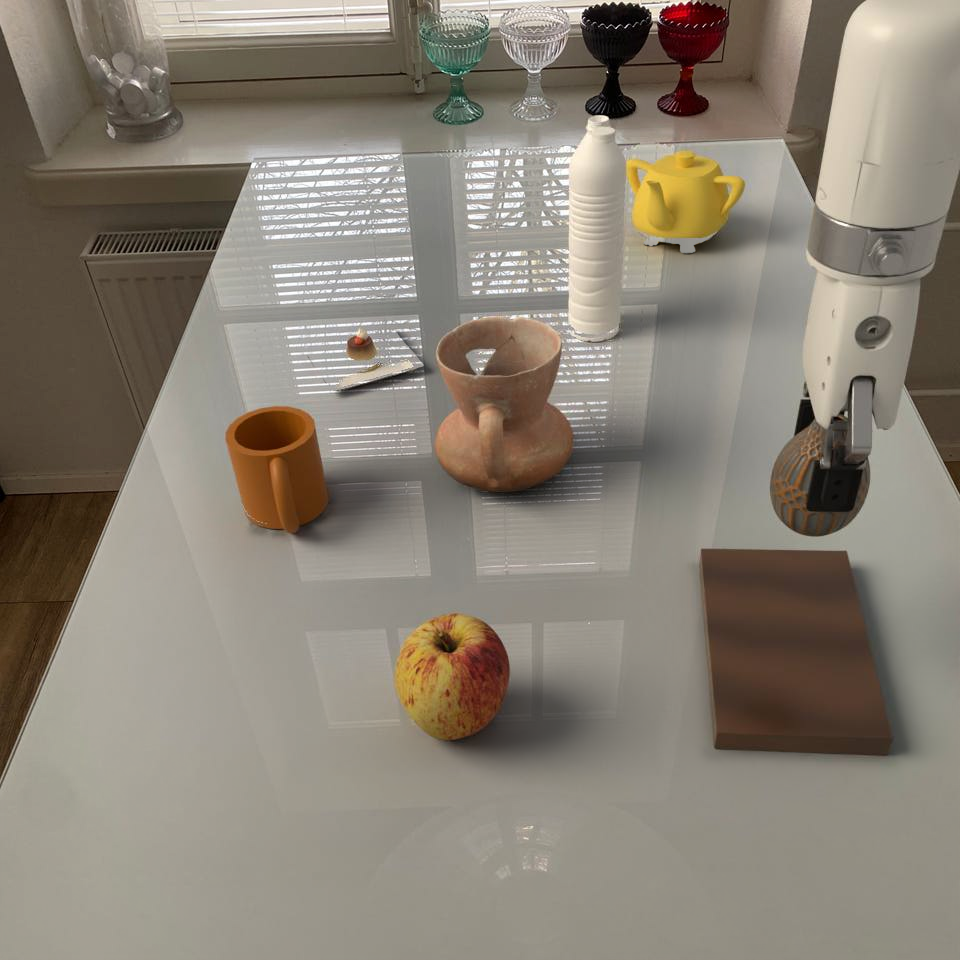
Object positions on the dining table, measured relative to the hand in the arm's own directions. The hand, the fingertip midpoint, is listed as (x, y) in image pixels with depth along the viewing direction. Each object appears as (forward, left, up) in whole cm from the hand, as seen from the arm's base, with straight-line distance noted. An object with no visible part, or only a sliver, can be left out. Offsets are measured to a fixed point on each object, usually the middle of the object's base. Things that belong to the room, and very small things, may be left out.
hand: (821, 475), depth 72 cm
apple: (+27, +10, -18) cm, 34 cm away
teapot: (+7, -80, -18) cm, 83 cm away
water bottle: (+17, -54, -18) cm, 60 cm away
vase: (0, 0, -4) cm, 4 cm away
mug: (+48, -17, -18) cm, 54 cm away
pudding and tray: (+46, -47, -18) cm, 68 cm away
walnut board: (0, +1, -17) cm, 17 cm away
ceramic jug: (+26, -25, -18) cm, 40 cm away
